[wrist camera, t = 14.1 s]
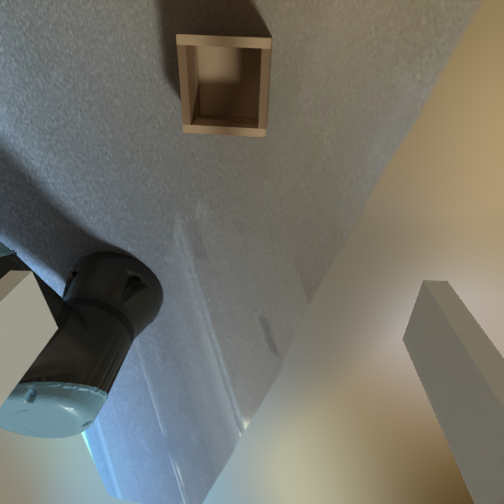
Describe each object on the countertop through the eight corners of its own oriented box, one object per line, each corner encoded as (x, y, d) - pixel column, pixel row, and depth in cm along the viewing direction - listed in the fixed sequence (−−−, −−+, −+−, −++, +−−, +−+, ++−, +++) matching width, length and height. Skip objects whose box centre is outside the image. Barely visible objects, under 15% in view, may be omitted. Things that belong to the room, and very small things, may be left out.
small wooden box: (195, 120, 40) (183, 132, 35) (190, 34, 35) (175, 34, 30) (267, 123, 39) (265, 137, 34) (272, 37, 34) (271, 38, 29)
